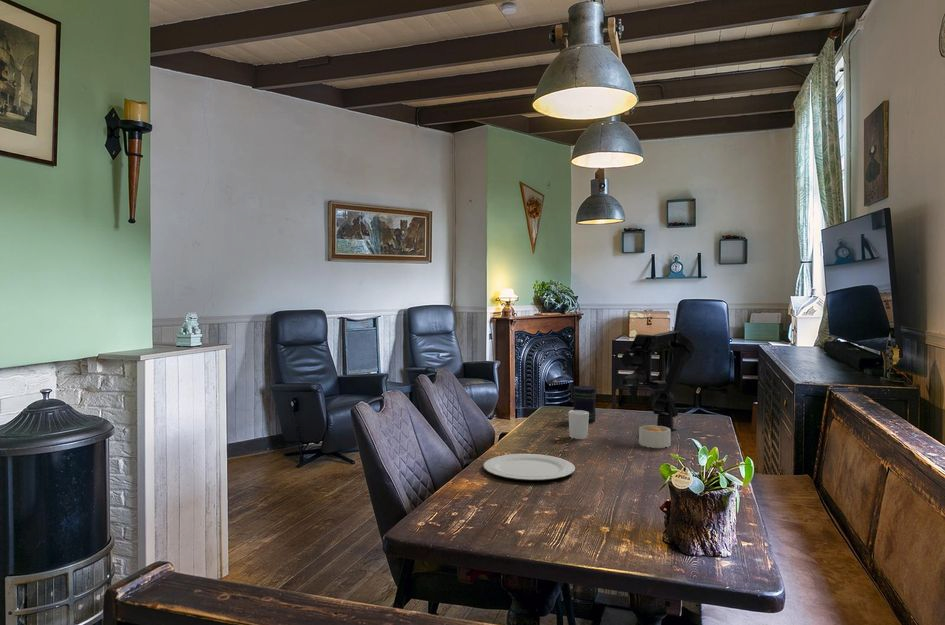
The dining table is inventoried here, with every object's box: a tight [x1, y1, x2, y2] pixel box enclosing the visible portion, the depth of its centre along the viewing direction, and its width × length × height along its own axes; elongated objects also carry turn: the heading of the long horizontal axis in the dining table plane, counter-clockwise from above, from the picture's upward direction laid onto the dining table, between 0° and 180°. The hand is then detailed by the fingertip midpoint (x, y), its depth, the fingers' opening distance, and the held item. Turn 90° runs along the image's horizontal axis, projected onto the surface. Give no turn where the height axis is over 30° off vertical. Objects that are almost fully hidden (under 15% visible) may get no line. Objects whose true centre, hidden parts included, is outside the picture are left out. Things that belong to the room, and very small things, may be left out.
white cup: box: [568, 410, 589, 440], centre depth 245 cm, size 8×8×10 cm
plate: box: [483, 453, 576, 482], centre depth 199 cm, size 29×29×2 cm
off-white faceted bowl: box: [638, 424, 672, 449], centre depth 234 cm, size 11×11×6 cm
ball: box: [648, 427, 661, 431], centre depth 234 cm, size 6×6×6 cm
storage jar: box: [572, 385, 597, 424], centre depth 276 cm, size 10×10×15 cm
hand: (643, 404), depth 251 cm, fingers open, 9 cm apart
